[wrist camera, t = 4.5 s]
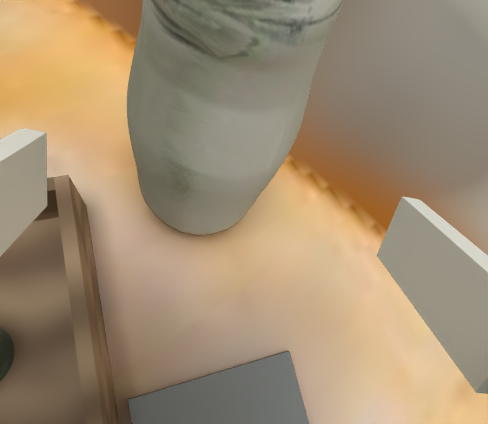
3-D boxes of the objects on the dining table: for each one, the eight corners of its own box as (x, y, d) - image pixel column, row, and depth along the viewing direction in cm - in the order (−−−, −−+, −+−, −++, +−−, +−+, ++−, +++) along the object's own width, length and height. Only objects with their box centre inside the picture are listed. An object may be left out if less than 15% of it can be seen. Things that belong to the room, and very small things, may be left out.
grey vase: (155, 141, 38) (141, -291, 12) (253, 165, 39) (432, -173, 13) (129, 233, 34) (27, -88, 8) (237, 256, 36) (436, 42, 10)
